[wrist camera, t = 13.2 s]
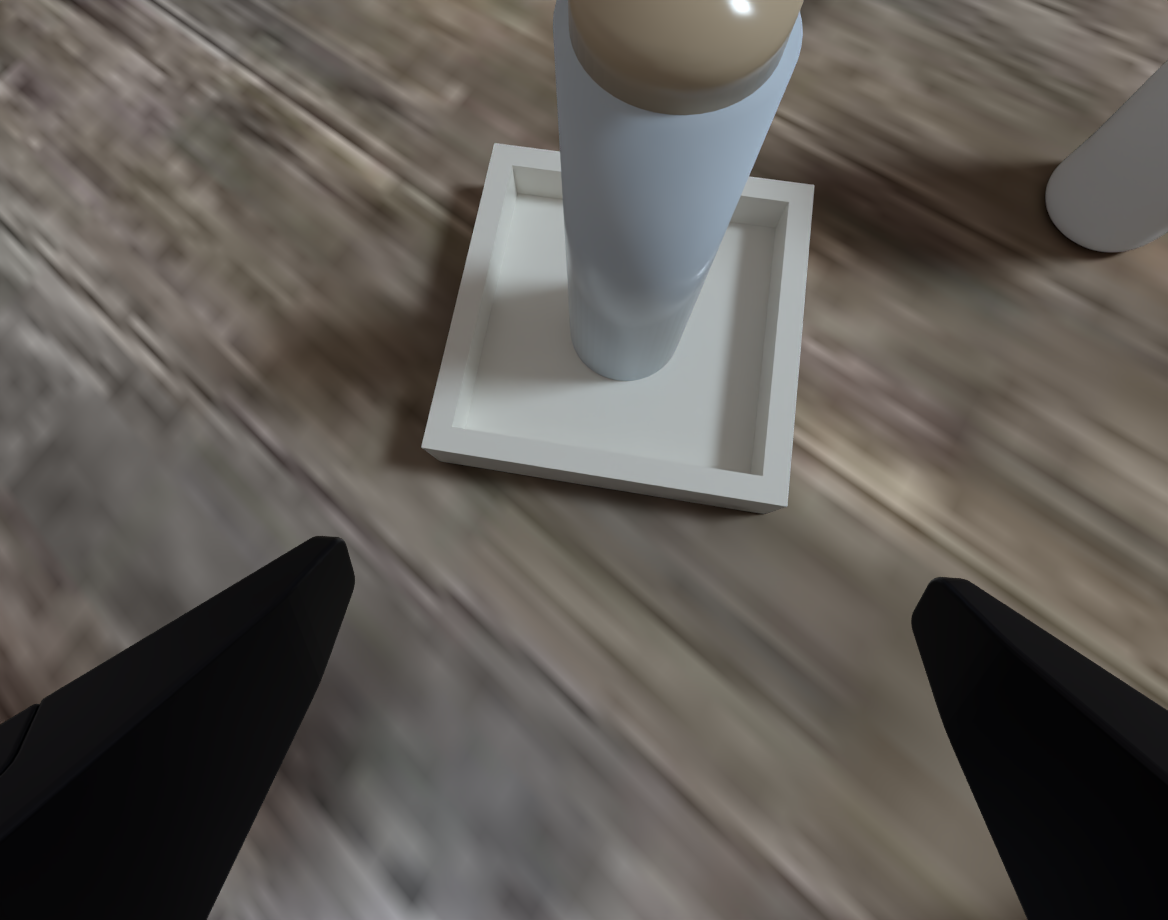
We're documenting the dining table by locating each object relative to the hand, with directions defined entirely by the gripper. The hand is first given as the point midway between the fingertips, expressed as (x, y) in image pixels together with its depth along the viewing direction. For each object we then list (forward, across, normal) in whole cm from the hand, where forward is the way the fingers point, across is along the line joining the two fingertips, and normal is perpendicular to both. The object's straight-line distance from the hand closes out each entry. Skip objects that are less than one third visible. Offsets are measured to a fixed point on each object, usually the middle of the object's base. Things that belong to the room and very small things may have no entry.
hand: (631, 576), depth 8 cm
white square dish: (+17, 0, +2) cm, 17 cm away
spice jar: (+16, 0, +2) cm, 17 cm away
